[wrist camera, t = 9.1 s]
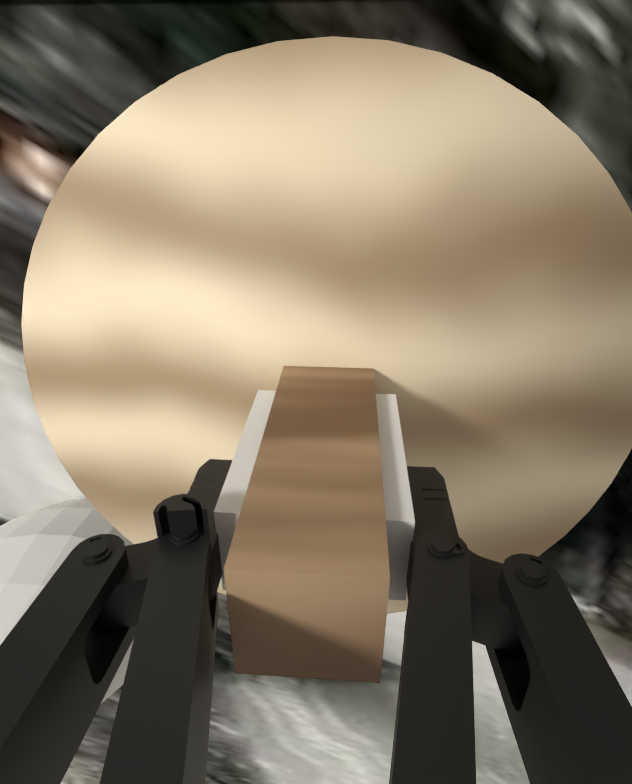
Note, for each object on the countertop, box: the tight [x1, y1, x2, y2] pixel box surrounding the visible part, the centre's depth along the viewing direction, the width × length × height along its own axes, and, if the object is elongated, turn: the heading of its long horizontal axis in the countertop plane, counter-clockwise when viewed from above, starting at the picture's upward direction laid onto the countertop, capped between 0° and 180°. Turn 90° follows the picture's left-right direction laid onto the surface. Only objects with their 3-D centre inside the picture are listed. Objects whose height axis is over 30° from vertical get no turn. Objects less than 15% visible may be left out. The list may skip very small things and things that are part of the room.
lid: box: [22, 36, 632, 683], centre depth 16 cm, size 24×24×11 cm
